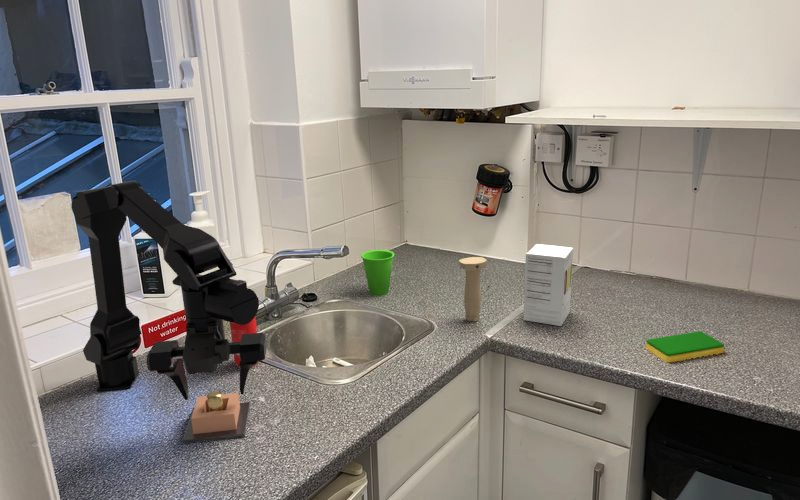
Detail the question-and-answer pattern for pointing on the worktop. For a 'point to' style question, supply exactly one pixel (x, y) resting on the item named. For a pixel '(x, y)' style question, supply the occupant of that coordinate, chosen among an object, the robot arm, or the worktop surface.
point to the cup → (378, 270)
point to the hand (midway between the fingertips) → (214, 396)
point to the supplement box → (548, 284)
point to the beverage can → (237, 335)
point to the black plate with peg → (217, 405)
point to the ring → (216, 415)
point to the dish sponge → (684, 346)
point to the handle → (472, 286)
